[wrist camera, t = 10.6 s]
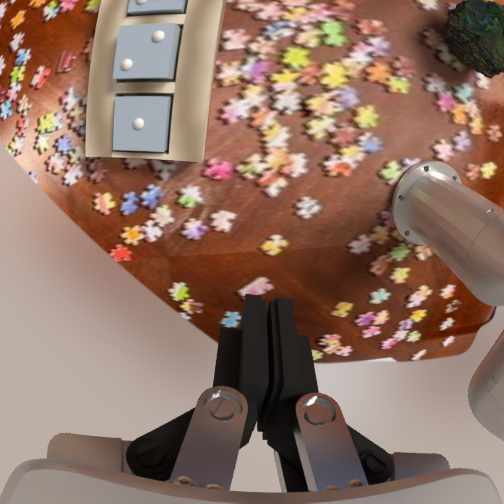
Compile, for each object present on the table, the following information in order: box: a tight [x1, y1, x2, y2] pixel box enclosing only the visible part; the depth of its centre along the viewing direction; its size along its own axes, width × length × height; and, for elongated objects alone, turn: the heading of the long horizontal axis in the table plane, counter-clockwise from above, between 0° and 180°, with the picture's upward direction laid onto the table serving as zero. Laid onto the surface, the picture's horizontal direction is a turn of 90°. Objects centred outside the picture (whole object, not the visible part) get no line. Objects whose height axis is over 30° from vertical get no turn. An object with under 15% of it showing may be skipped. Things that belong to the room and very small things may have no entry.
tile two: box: [113, 23, 181, 80], centre depth 24 cm, size 6×6×3 cm
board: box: [86, 0, 226, 162], centre depth 27 cm, size 14×24×4 cm, turn 172°
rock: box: [442, 0, 504, 78], centre depth 20 cm, size 14×11×10 cm
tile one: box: [113, 96, 174, 152], centre depth 29 cm, size 6×6×3 cm
